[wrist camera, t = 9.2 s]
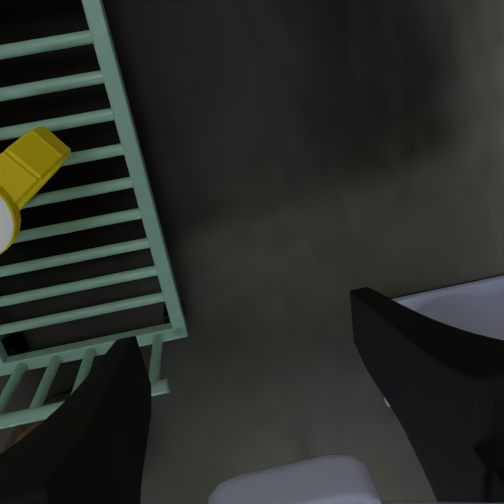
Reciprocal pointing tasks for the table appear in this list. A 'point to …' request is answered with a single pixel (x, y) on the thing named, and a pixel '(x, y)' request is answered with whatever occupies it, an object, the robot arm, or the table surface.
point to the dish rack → (15, 347)
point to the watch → (26, 176)
